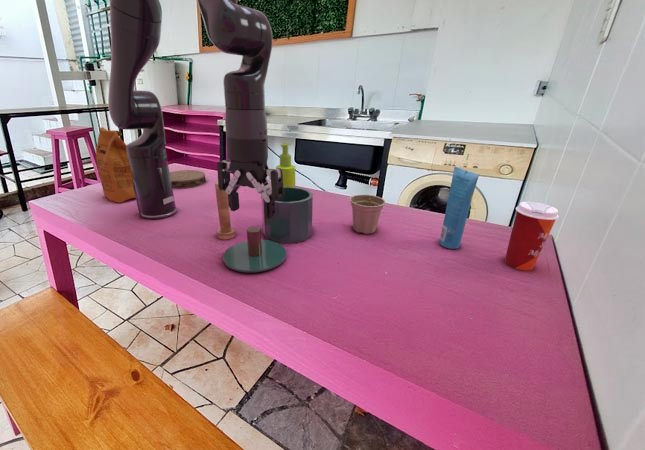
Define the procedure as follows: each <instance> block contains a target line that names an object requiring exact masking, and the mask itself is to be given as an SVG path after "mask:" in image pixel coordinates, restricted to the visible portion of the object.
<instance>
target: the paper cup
mask: <svg viewBox="0 0 645 450" xmlns="http://www.w3.org/2000/svg"><path fill="white" fill-rule="evenodd" d="M515 211H516V212H515V216H514V221H513V224H512V227H511V228H512V229H511V233H510V237H509V240H508V245H507V248H506V253H505V258H504V262H505V264H507V266H509V267H510V268H513V269H516V270H518V271H525V272H528V271H532V270H533V269H534V267H535V265H536V263H537V261H538V260H539V257H540V255H541V252H542V251H543V248H544V246H545V244H546V242H547V240H548V238H549V235H550V234H551V231H552V229H553V227H554V225H555V222H556V220H558V219H559V217H560V216H559V210H558V209H557V208H556V207H555V206H552V205H549V204H546V203H542V202H537V201H521V202H519V204H518V206H516V207H515Z"/></svg>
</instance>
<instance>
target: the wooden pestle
mask: <svg viewBox="0 0 645 450" xmlns="http://www.w3.org/2000/svg"><path fill="white" fill-rule="evenodd" d="M224 183H225V181H224ZM214 187H215V189H214V190H215V196H216V205H217V213H218V220H219V228H218V229H216V236H217V238H218V239H219V240H231V239H233V238H235V237H236V229H235V227H232V225H231V223H232V222H231V213H230V208H229V205H228V194H227V193H226V191H224V190H220V189H219V187H218V181H216V182H214Z"/></svg>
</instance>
